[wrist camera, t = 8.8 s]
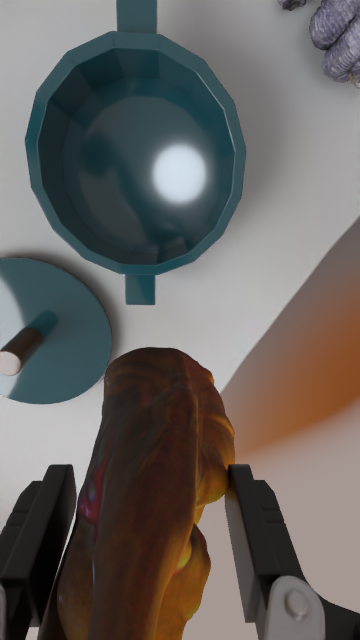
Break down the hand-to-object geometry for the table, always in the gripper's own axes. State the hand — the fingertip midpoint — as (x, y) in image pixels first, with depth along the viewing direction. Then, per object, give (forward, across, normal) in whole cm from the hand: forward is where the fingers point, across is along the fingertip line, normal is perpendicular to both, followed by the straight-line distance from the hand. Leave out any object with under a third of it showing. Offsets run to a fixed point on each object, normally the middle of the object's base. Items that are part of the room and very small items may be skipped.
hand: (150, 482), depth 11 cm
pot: (+20, +2, -11) cm, 23 cm away
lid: (+20, +13, +4) cm, 24 cm away
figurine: (+6, 0, 0) cm, 6 cm away
